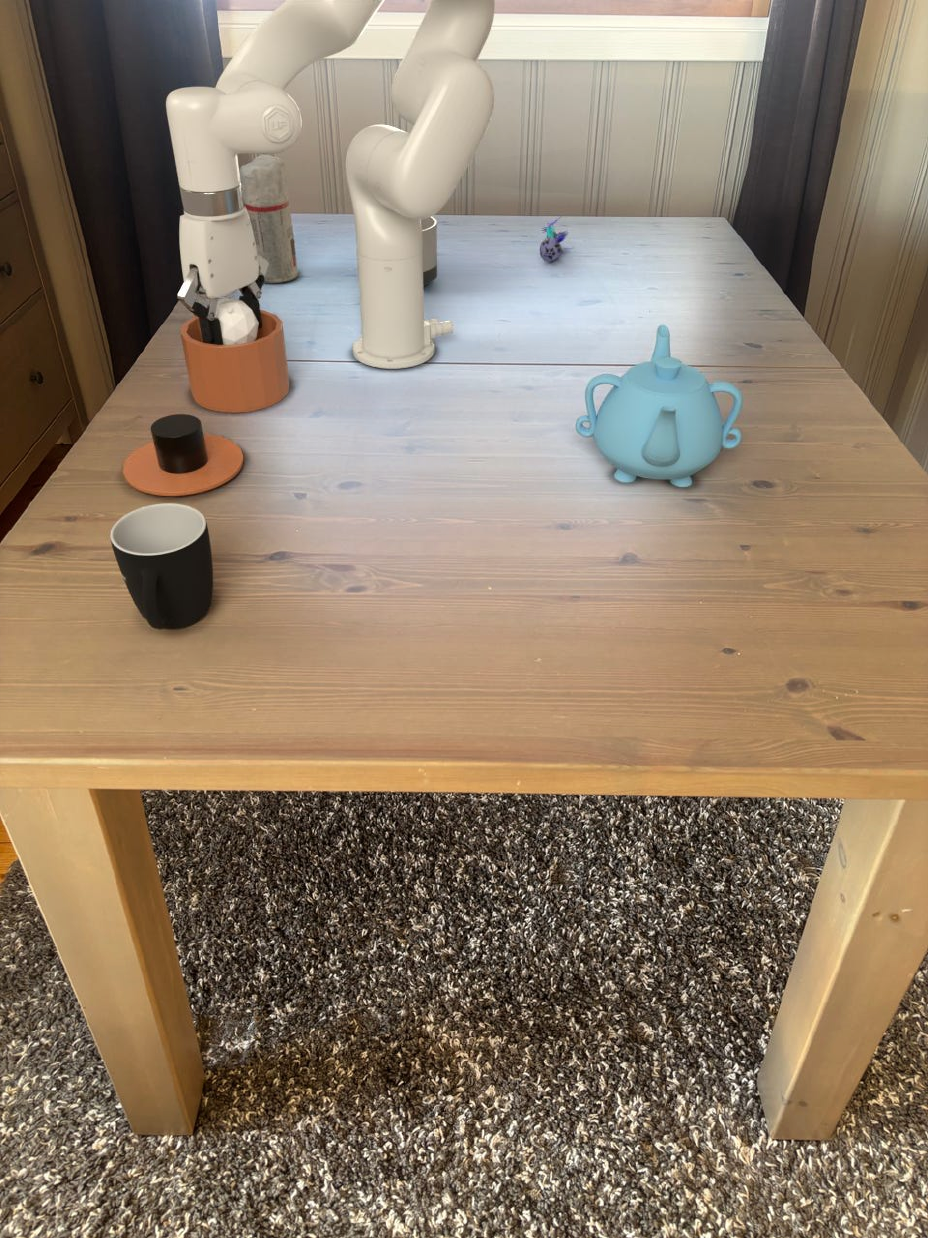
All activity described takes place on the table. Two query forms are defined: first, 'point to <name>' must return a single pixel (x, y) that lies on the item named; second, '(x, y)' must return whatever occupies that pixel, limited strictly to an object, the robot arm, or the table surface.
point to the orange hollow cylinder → (237, 368)
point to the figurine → (552, 243)
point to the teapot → (660, 418)
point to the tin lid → (182, 459)
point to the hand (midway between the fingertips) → (233, 334)
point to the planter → (429, 249)
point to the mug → (166, 563)
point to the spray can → (270, 216)
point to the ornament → (236, 322)
